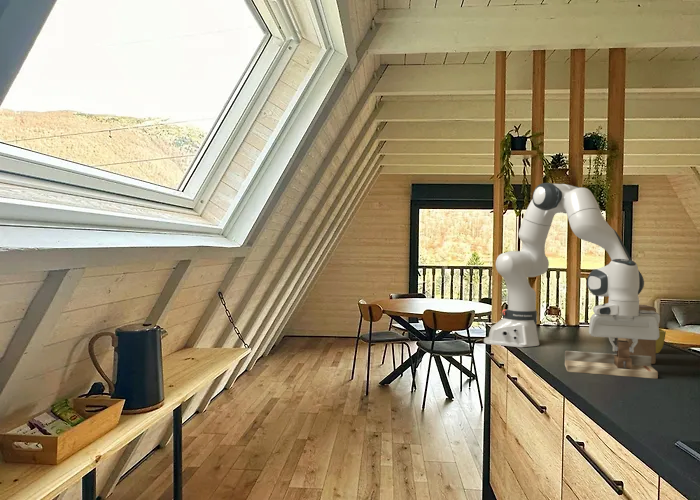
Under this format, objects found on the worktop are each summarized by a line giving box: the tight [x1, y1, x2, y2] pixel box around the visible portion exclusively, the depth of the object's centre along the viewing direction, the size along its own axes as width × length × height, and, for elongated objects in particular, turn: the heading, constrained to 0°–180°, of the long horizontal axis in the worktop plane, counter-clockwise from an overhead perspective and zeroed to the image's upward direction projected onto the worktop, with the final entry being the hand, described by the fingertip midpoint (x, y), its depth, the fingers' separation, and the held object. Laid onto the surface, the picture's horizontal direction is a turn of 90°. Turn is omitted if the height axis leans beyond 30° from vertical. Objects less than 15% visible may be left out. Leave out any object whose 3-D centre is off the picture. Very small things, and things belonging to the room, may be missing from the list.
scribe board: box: [564, 350, 659, 380], centre depth 170 cm, size 26×10×5 cm, turn 72°
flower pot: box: [656, 328, 666, 354], centre depth 203 cm, size 9×9×9 cm
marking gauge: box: [614, 339, 632, 369], centre depth 168 cm, size 4×7×8 cm, turn 162°
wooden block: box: [617, 304, 657, 365], centre depth 186 cm, size 10×10×20 cm
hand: (622, 351), depth 168 cm, fingers closed on marking gauge, 3 cm apart
